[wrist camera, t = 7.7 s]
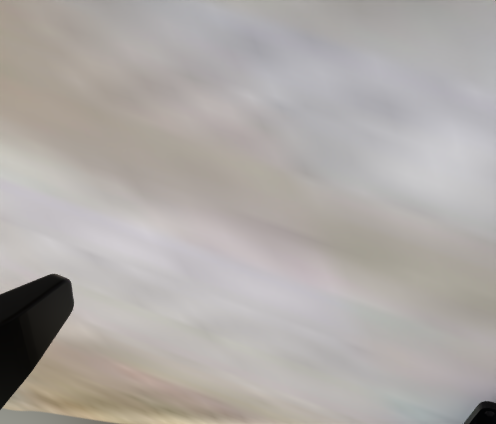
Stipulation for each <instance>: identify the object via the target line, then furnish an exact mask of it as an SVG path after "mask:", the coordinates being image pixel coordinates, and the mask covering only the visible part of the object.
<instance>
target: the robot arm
mask: <svg viewBox="0 0 496 424" xmlns="http://www.w3.org/2000/svg"><path fill="white" fill-rule="evenodd" d="M73 307H74V299H73V292H72V285H71V281H70V280H69V279H67V278H65V277H62V276H60V275H58V274H50V275H47V276H45V277H42V278H40V279H37V280H35V281H32V282H30V283H27V284H25V285H22V286H20V287H17V288H15V289H12V290H10V291H8V292H5V293H3V294H0V410H1V408H2V407H3V406H4V405H5V404H6V402H7V401H8V400H9V399H10V397H11V396H12V395H13V394H14V393H15V391H16V390H17V389H18V388H19V387H20V385H21V384H22V383H23V382H24V380H25V379H26V378H27V377H28V375H29V374H30V373H31V372H32V370H33V369H34V367H35V366H36V365H37V363H38V362H39V360H40V359H41V357H42V356H43V354H44V353H45V351H46V350H47V348H48V347H49V345H50V344H51V342H52V341H53V339H54V338H55V336H56V335H57V333H58V332H59V330H60V329H61V327H62V326H63V324H64V323H65V321H66V320H67V319H68V317H69V316H70V314H71V312H72V310H73ZM464 424H496V403H493V402H489V401H484V402H481V403H480V404H479V405H478V406H477V407H476V408H475V410H474V411H473V412H472V414H471V415H470V416H469V417H468V419H467V420H466V421H465V422H464Z"/></svg>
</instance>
